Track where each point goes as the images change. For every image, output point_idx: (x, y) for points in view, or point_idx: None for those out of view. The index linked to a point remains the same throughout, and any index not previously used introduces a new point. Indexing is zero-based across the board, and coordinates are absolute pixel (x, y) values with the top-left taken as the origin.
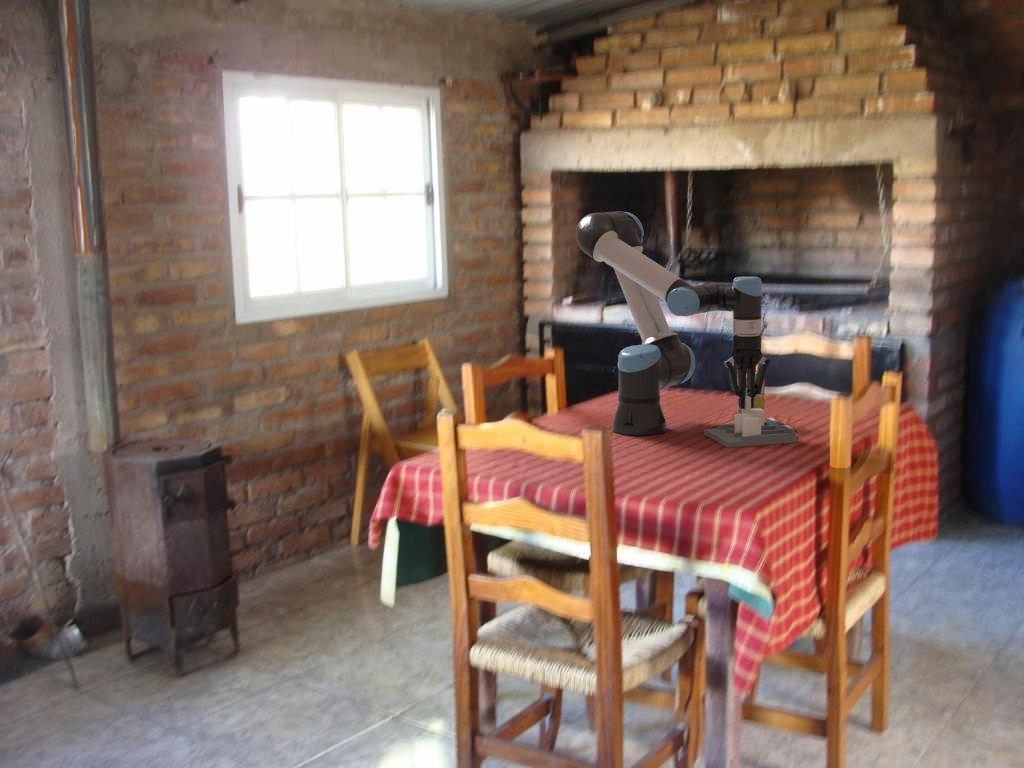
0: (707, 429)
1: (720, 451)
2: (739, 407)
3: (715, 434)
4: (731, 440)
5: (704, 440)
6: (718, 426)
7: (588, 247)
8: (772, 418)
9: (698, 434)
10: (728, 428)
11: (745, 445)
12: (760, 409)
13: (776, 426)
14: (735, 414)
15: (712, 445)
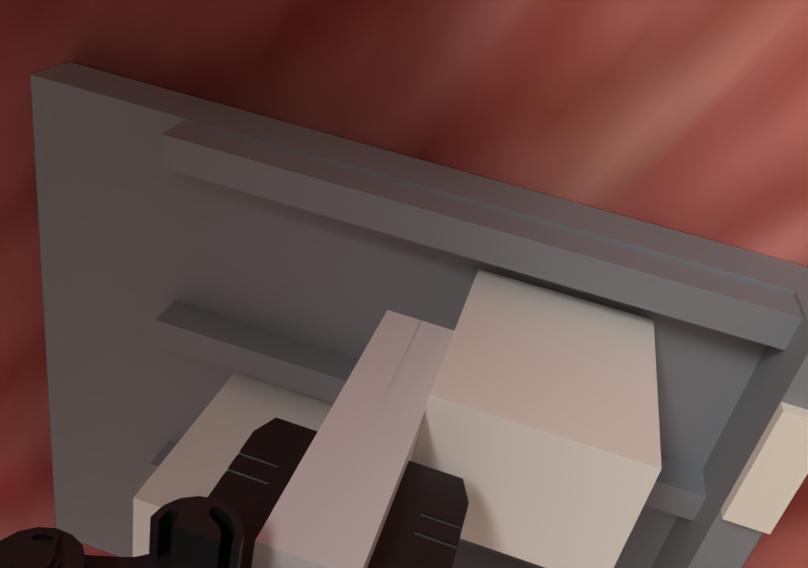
0: (57, 101)
1: (10, 530)
2: (267, 430)
3: (56, 316)
4: (99, 520)
5: (2, 249)
6: (170, 133)
7: None
8: (801, 466)
9: (21, 15)
10: (183, 332)
11: None
12: (592, 529)
13: (679, 548)
14: (135, 511)
15: (11, 400)
